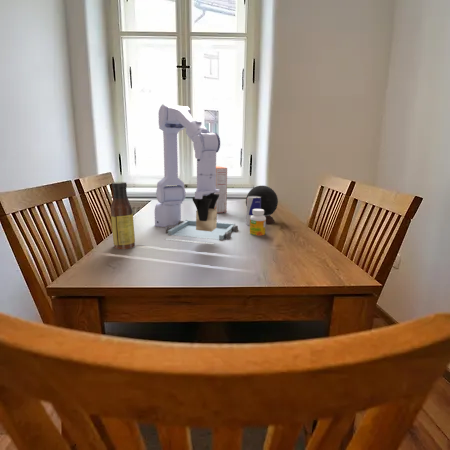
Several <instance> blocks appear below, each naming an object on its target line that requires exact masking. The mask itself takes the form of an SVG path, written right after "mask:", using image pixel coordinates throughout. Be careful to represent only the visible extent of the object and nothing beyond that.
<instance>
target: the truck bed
mask: <svg viewBox="0 0 450 450" xmlns="http://www.w3.org/2000/svg"><path fill="white" fill-rule="evenodd" d="M238 230H239V226H238V225H236V223H232V222H231V223H230V222H219V221H217V226H216V229H214V230H213V231H212V232H211V231H201V230H196V219H195V220H191V219H185V220H181V221H179V222H178V225H174V227H172V226H166V228H165V234H167V235H168V236H177V237H178V236H179V237H188V238H195V239H196V238H198V239H207V240H208V239H209V240H217V241H219V240H220V241H223V240H230V239H231V237H232V232H233V233H236V232H237V231H238Z"/></svg>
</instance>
